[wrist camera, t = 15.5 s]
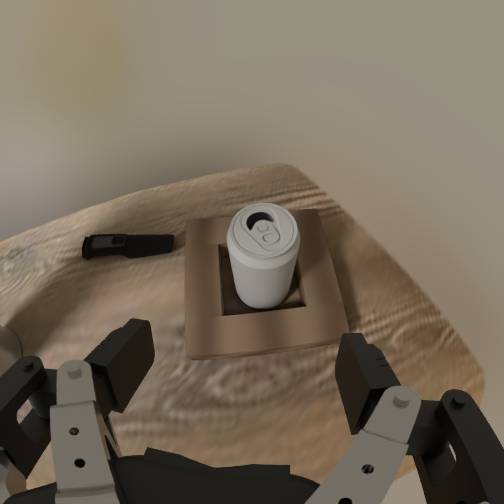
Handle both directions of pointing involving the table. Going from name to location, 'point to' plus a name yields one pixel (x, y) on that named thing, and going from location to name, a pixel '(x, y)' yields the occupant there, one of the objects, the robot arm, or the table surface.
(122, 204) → the table surface
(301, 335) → the hole board
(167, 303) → the table surface
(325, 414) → the table surface
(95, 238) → the electric trimmer
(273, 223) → the beverage can
